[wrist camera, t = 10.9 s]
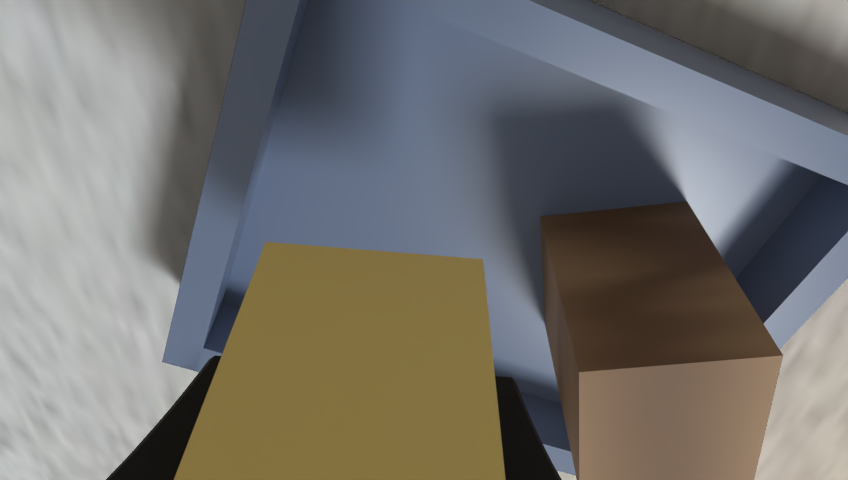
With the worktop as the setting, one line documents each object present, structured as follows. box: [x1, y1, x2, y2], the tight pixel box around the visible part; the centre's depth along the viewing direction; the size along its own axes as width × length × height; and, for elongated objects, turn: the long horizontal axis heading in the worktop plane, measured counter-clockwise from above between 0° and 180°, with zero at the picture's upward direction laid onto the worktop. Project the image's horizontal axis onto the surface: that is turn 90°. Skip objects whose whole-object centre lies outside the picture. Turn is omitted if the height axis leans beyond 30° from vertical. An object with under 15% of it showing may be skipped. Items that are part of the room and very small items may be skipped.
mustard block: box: [174, 242, 506, 480], centre depth 11 cm, size 4×4×6 cm
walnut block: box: [540, 201, 783, 480], centre depth 17 cm, size 4×4×6 cm
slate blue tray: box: [162, 0, 848, 475], centre depth 18 cm, size 16×13×3 cm
